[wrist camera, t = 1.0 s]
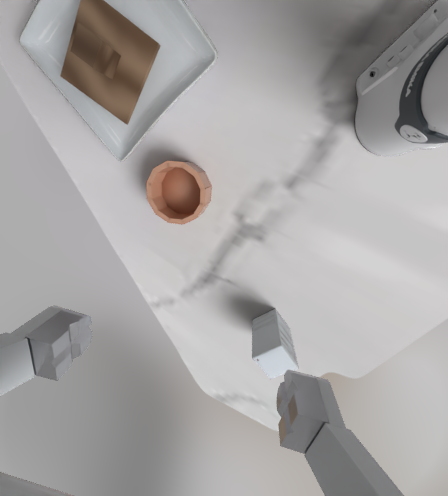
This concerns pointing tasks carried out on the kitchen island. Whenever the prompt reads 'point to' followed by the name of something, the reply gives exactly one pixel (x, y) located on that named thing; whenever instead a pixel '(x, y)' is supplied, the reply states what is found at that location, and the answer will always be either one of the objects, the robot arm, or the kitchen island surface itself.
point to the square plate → (161, 74)
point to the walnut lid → (108, 58)
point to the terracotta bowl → (178, 191)
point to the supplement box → (273, 344)
